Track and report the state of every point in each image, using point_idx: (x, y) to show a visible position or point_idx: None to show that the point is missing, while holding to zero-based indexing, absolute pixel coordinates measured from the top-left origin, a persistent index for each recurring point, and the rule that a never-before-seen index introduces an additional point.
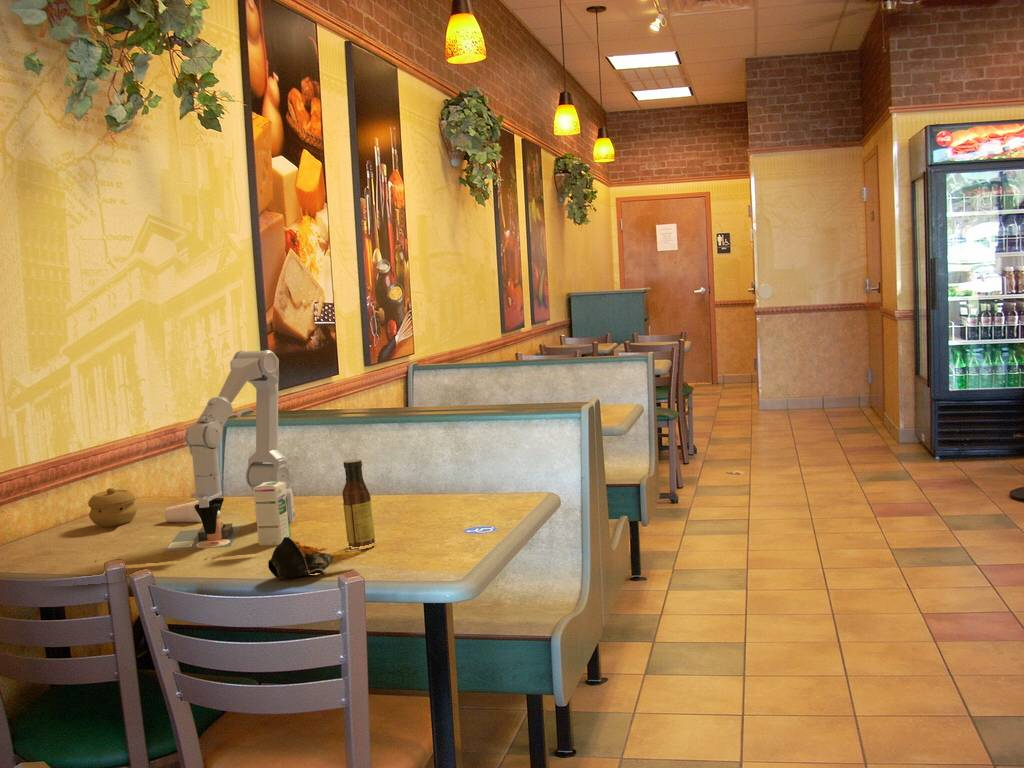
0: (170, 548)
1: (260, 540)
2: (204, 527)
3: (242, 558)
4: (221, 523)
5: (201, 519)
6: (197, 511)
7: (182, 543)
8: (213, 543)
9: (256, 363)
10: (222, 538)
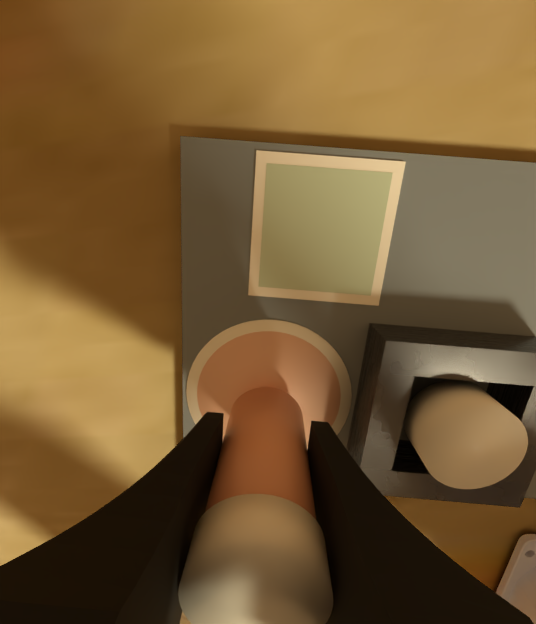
0: (253, 174)
1: None
2: (183, 440)
3: (30, 496)
4: (456, 484)
5: (133, 484)
6: (28, 559)
7: (340, 238)
8: None
9: None
10: (349, 434)
